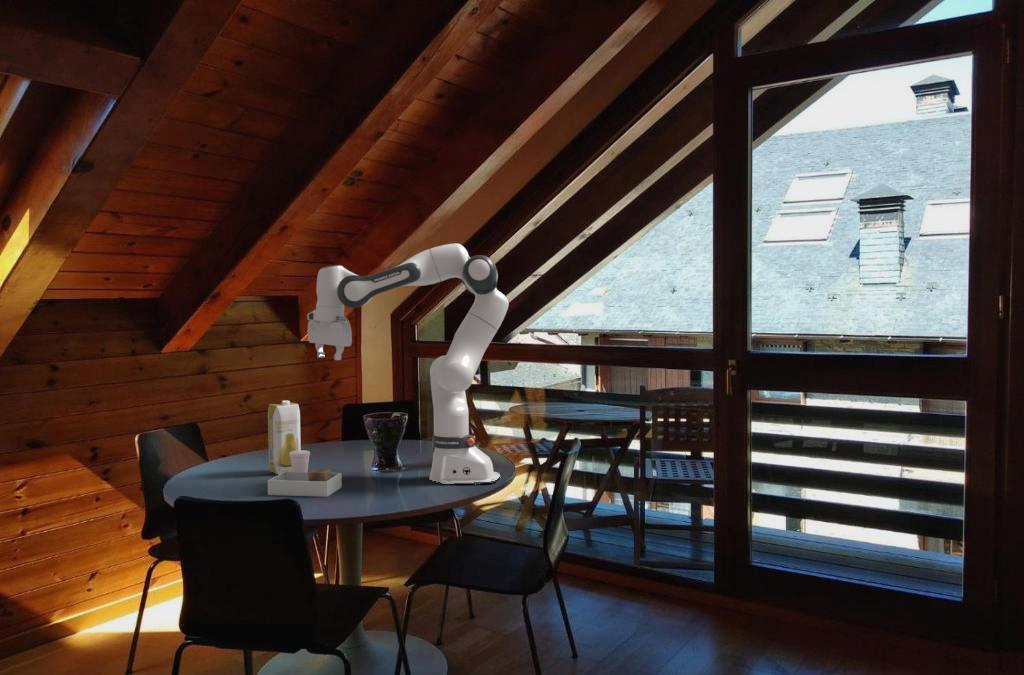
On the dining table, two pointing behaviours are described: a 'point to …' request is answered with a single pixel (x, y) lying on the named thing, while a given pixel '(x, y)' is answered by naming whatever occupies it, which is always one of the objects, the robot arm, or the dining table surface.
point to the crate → (303, 485)
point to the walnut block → (319, 475)
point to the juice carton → (283, 435)
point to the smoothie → (299, 459)
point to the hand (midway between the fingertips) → (329, 358)
